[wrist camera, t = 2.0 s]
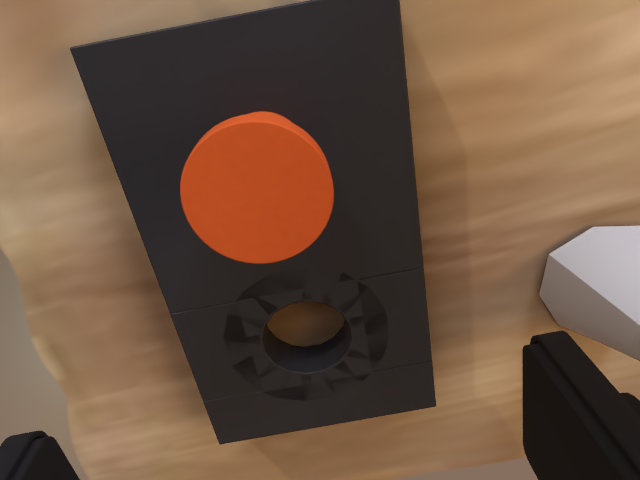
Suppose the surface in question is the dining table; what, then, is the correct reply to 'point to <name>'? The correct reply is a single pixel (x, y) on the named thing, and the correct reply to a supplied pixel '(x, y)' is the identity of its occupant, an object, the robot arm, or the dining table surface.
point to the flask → (597, 286)
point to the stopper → (257, 188)
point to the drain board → (325, 252)
